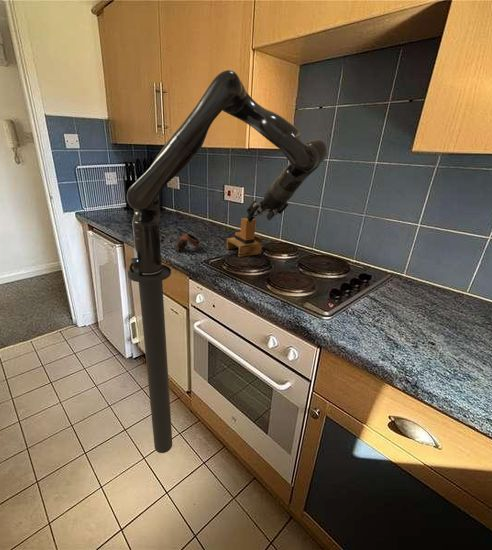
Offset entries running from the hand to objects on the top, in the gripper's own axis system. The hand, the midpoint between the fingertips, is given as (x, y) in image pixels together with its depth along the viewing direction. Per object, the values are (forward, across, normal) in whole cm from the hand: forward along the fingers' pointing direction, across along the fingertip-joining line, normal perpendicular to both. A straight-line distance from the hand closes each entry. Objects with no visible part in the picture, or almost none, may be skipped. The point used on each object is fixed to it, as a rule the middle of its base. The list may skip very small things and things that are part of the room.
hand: (258, 219), depth 113 cm
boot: (+20, -4, -2) cm, 21 cm away
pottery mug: (+32, +19, -6) cm, 38 cm away
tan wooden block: (+24, -4, +2) cm, 25 cm away
